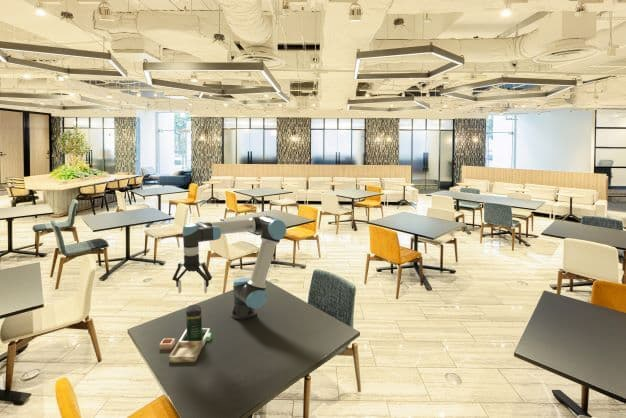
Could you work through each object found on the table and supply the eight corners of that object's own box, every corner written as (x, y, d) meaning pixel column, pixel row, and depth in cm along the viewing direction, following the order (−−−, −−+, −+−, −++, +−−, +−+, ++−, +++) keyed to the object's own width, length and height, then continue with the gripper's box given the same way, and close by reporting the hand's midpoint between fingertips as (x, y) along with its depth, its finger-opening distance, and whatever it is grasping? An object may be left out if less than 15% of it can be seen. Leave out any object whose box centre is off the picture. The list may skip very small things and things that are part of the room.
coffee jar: (202, 342, 198) (201, 309, 195) (187, 344, 195) (185, 311, 193) (202, 334, 207) (200, 302, 204) (187, 336, 204) (185, 304, 202)
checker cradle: (213, 332, 209) (213, 328, 209) (207, 346, 194) (207, 341, 194) (186, 332, 208) (186, 328, 208) (178, 346, 194) (178, 342, 193)
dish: (175, 343, 196) (175, 338, 196) (171, 349, 190) (171, 344, 190) (163, 343, 196) (163, 338, 196) (159, 349, 190) (159, 344, 190)
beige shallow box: (202, 346, 194) (202, 341, 193) (195, 362, 180) (195, 356, 179) (178, 346, 193) (178, 341, 193) (169, 362, 179) (168, 356, 179)
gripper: (216, 252, 198) (218, 289, 201) (169, 252, 197) (171, 289, 200) (213, 256, 191) (214, 295, 194) (164, 256, 189) (166, 295, 193)
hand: (192, 292), depth 197 cm, fingers open, 13 cm apart
